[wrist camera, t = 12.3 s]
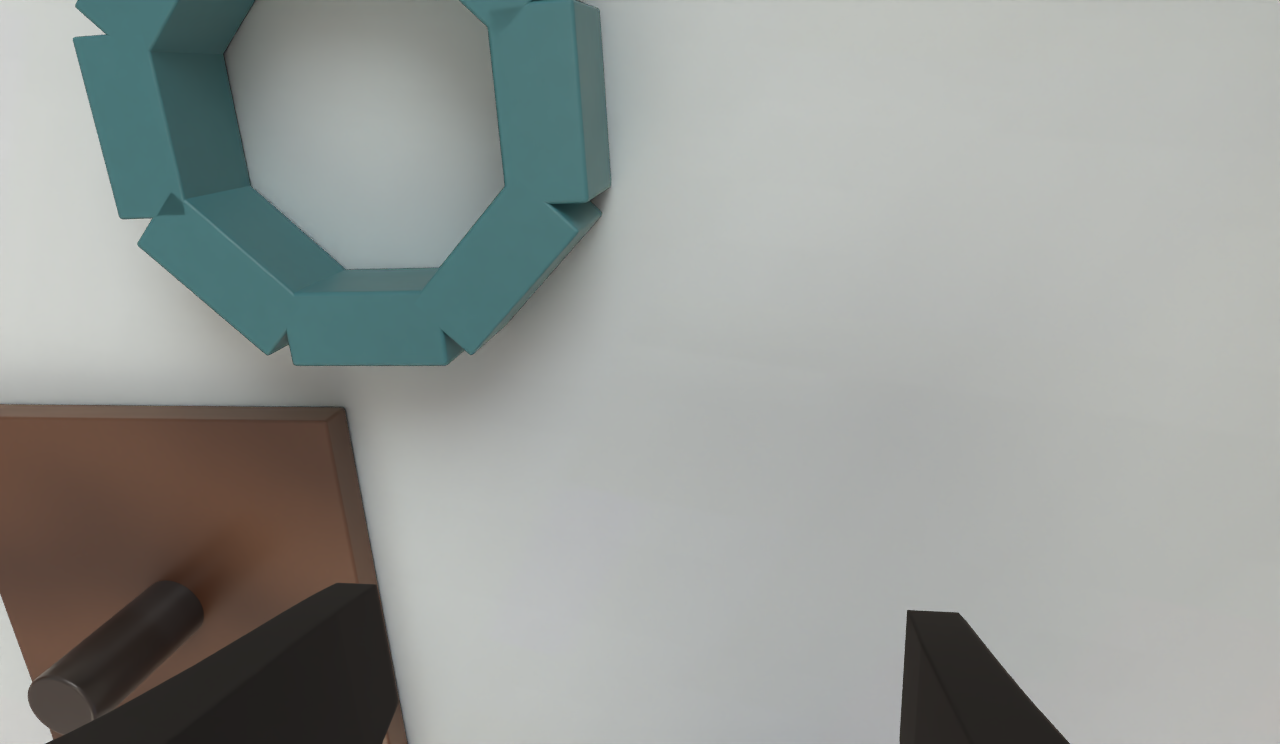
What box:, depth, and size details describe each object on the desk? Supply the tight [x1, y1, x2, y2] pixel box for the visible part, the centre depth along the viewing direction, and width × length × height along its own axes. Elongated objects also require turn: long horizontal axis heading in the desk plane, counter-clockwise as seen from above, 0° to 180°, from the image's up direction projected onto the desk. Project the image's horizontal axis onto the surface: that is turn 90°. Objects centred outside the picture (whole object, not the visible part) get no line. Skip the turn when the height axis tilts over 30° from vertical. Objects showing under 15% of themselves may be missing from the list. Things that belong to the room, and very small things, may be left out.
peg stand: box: [0, 404, 407, 744], centre depth 22 cm, size 12×12×5 cm
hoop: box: [73, 0, 611, 366], centre depth 18 cm, size 10×10×2 cm
